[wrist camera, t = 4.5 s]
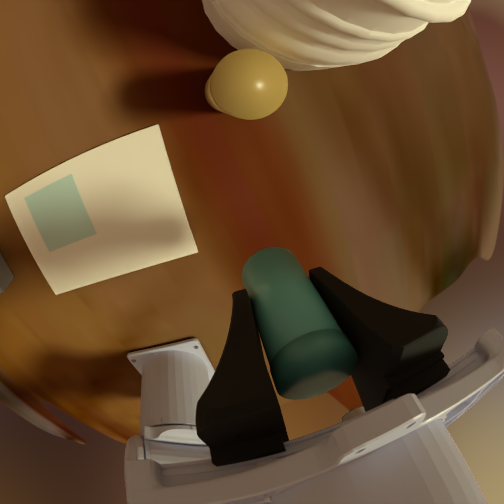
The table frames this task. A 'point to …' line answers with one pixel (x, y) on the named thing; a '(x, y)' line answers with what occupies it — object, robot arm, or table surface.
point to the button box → (4, 275)
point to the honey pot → (326, 27)
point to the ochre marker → (247, 84)
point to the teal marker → (296, 326)
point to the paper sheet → (104, 213)
